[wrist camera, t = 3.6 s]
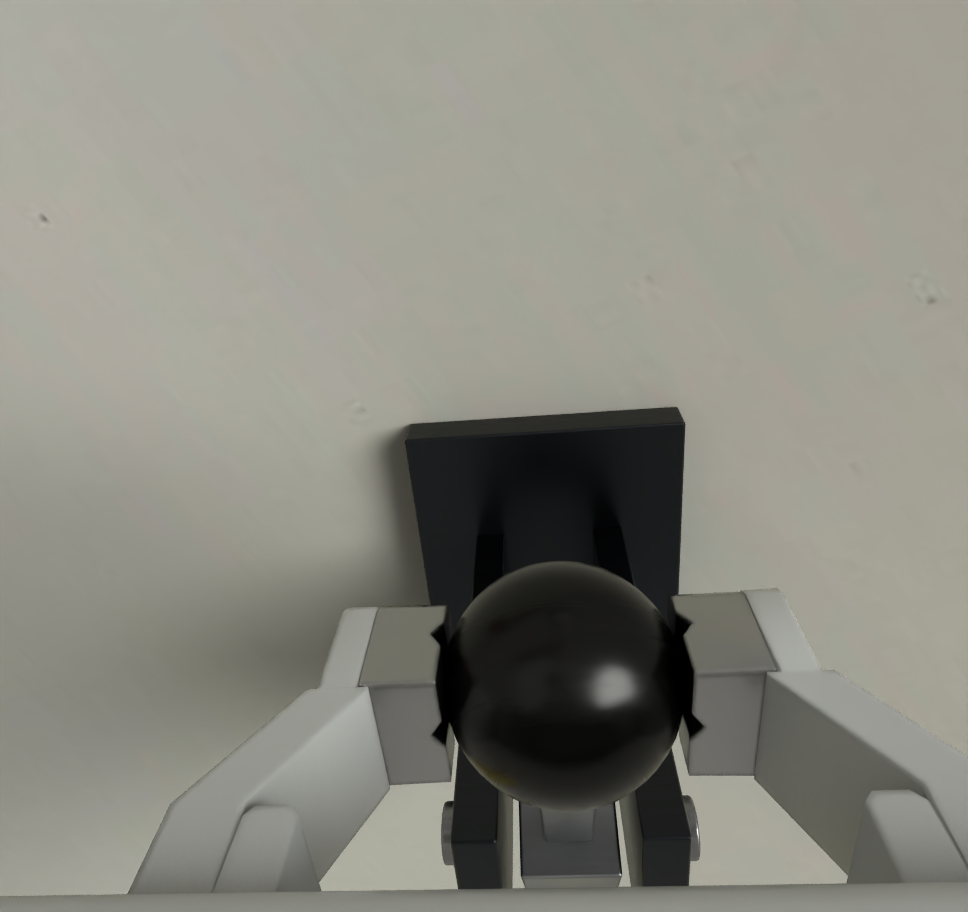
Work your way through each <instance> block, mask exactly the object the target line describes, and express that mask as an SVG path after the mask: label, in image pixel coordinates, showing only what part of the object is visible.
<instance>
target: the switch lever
mask: <svg viewBox="0 0 968 912" xmlns="http://www.w3.org/2000/svg"><path fill="white" fill-rule="evenodd" d="M444 672H445V697H444V699H445V705H446V711H447V715H448V718H449V722H450V725H451V728H452V731H453V733H454V735H455V737H456V740H457V742H458V744H459V746H460V747H461V749H462V750H463V752H464V754H465V755H466V757H467V758H468V760H469V761H470V763H471V764H472V765H473V766H474V767H475V769H476V770H477V771H478V772H479V773H480V774H481V775H482V776H483V777H484V778H485V779H486V780H487V781H489V782H490V783H491V784H492V785H493V786H494V787H495V788H497V789H499V790H500V791H502V792H503V793H505V794H506V795H508V796H509V797H511V798H513V799H515V800H518V801H519V826H520V862H521V877H522V880H523V883H524V885H525V888H579V887H618V886H619V883H620V880H621V877H622V868H621V858H620V848H619V838H618V828H617V818H616V808H615V802H616V801H618V800H620V799H622V798H623V797H625V796H627V795H629V794H631V793H632V792H633V791H635V790H636V789H637V788H639V787H640V786H641V785H642V784H644V783H645V782H646V781H647V780H648V779H649V778H650V777H651V776H652V775H653V774H654V773H655V771H656V770H657V769H658V768H659V767H660V765H661V764H662V762H663V761H664V759H665V758H666V756H667V755H668V753H669V751H670V749H671V747H672V745H673V743H674V741H675V739H676V737H677V733H678V730H679V727H680V724H681V720H682V714H683V709H684V702H685V686H684V679H683V672H682V661H681V657H680V653H679V649H678V646H677V644H676V641H675V638H674V636H673V634H672V632H671V630H670V628H669V626H668V625H667V623H666V621H665V619H664V618H663V616H662V615H661V613H660V612H659V611H658V609H657V608H656V607H655V605H654V604H653V603H652V602H651V601H650V600H649V599H648V598H647V597H646V596H645V595H644V594H643V593H642V592H641V591H640V590H639V589H637V588H636V587H635V586H633V585H632V584H631V583H629V582H628V581H626V580H625V579H624V578H622V577H620V576H618V575H616V574H614V573H612V572H610V571H608V570H606V569H604V568H601V567H598V566H594V565H591V564H587V563H583V562H577V561H567V560H553V561H544V562H538V563H533V564H530V565H526V566H524V567H521V568H518V569H516V570H513V571H511V572H509V573H507V574H505V575H503V576H502V577H500V578H499V579H497V580H496V581H494V582H493V583H491V584H490V585H489V586H488V587H486V588H485V589H484V590H483V591H482V592H481V593H480V594H479V595H478V596H477V597H476V598H475V599H474V600H473V601H472V603H471V604H470V605H469V607H468V608H467V609H466V610H465V612H464V613H463V615H462V617H461V618H460V620H459V622H458V624H457V626H456V628H455V630H454V632H453V635H452V637H451V640H450V642H449V646H448V650H447V654H446V658H445V666H444Z"/></svg>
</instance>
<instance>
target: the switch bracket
mask: <svg viewBox="0 0 968 912" xmlns="http://www.w3.org/2000/svg"><path fill="white" fill-rule="evenodd" d="M684 444H685V422H684V420H683V418H682V416H681V414H680V411H679V409H678V408H677V407H670V408H655V409H639V410H624V411H608V412H592V413H577V414H561V415H546V416H530V417H515V418H499V419H484V420H468V421H453V422H437V423H422V424H411V425H410V427H409V430H408V433H407V437H406V440H405V445H406V451H407V458H408V464H409V470H410V477H411V483H412V490H413V496H414V503H415V509H416V515H417V522H418V528H419V535H420V541H421V548H422V554H423V560H424V567H425V573H426V580H427V586H428V592H429V599H430V605H447V606H448V607H449V610H450V615H451V621H452V635H453V632H454V630H455V628H456V626H457V624H458V622H459V620H460V618H461V617H462V615H463V613H464V612H465V610H466V609H467V608H468V607H469V605H470V604H471V603H472V601H473V600H474V599H475V598H476V597H477V596H478V595H479V594H480V593H481V592H482V591H483V590H484V589H485V588H486V587H488V586H489V585H490V584H491V583H493V582H494V581H496V580H497V579H499V578H500V577H502V576H503V575H505V574H507V573H509V572H511V571H513V570H516V569H518V568H521V567H524V566H526V565H530V564H533V563H538V562H544V561H553V560H567V561H577V562H583V563H587V564H591V565H594V566H598V567H601V568H604V569H606V570H608V571H610V572H612V573H614V574H616V575H618V576H620V577H622V578H624V579H625V580H626V581H628V582H629V583H631V584H632V585H633V586H635V587H636V588H637V589H639V590H640V591H641V592H642V593H643V594H644V595H645V596H646V597H647V598H648V599H649V600H650V601H651V602H652V603H653V604H654V605H655V607H656V608H657V609H658V611H659V612H660V613H661V615H662V616H663V618H664V619H665V621H666V623H667V625H668V622H667V618H666V616H667V601H668V596H669V595H678V593H679V568H680V543H681V518H682V494H683V469H684ZM451 637H452V636H451ZM619 803H620V810H621V817H622V825H623V832H624V839H625V846H626V854H627V861H628V868H629V876H630V883H631V887H646V886H689V873H690V861H697V860H699V857H700V835H699V826H698V820H697V815H696V810H695V806H694V803H693V800H692V798H691V797H690V796H688V795H682V792H681V788H680V783H679V779H678V774H677V770H676V765H675V761H674V756H673V752H672V748H671V749H670V751H669V753H668V755H667V756H666V758H665V759H664V761H663V762H662V764H661V765H660V767H659V768H658V769H657V770H656V771H655V773H654V774H653V775H652V776H651V777H650V778H649V779H648V780H647V781H646V782H645V783H644V784H642V785H641V786H640V787H639V788H637V789H636V790H635V791H633V792H632V793H631V794H629V795H627V796H625V797H623V798H622V799H620V800H619ZM441 844H442V856H443V860H444V863H445V865H454V868H455V873H456V879H457V885H458V889H512V877H513V798H511V797H509V796H508V795H506V794H505V793H503V792H502V791H500V790H499V789H497V788H495V787H494V786H493V785H492V784H491V783H490V782H489V781H487V780H486V779H485V778H484V777H483V776H482V775H481V774H480V773H479V772H478V771H477V770H476V769H475V767H474V766H473V765H472V764H471V763H470V761H469V760H468V758H467V757H466V755H465V754H464V752H463V750H462V749H461V747H460V746H458V757H457V769H456V780H455V792H454V801H447V802H445V804H444V807H443V812H442V824H441Z"/></svg>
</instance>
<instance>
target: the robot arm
mask: <svg viewBox="0 0 968 912" xmlns="http://www.w3.org/2000/svg"><path fill="white" fill-rule="evenodd" d="M666 618H667V622H668V626H669V628H670V630H671V632H672V634H673V636H674V638H675V641H676V644H677V646H678V649H679V653H680V657H681V661H682V672H683V679H684V686H685V702H684V709H683V714H682V720H681V724H680V727H679V737H680V741H681V745H682V749H683V753H684V757H685V761H686V765H687V769H688V773H689V776H754V779H755V780H756V781H757V782H758V783H759V784H760V785H761V786H762V787H763V788H764V789H765V790H766V791H767V792H768V793H769V794H770V795H771V797H772V798H773V799H774V800H775V801H776V802H777V803H778V804H779V805H780V806H781V807H782V808H783V809H784V810H785V811H786V812H787V813H788V814H789V815H790V816H791V817H792V818H793V819H794V820H795V821H796V822H797V823H798V824H799V825H800V827H801V828H802V829H803V830H804V831H805V832H806V833H807V834H808V835H809V836H810V837H811V838H812V839H813V840H814V841H815V842H816V843H817V844H818V845H819V846H820V847H821V848H822V849H823V850H824V851H825V852H826V853H827V854H828V855H829V857H830V858H831V859H832V860H833V861H834V862H835V863H836V864H837V865H838V866H839V867H840V868H841V869H842V870H843V871H844V872H845V873H846V874H847V875H848V879H847V883H846V884H781V885H714V886H646V887H579V888H512V889H445V890H379V891H321V888H320V885H319V882H320V880H321V879H322V878H323V877H324V875H325V874H326V873H327V871H328V870H329V869H330V867H331V866H332V865H333V863H334V862H335V861H336V859H337V858H338V857H339V855H340V854H341V853H342V852H343V850H344V849H345V848H346V846H347V845H348V844H349V842H350V841H351V840H352V838H353V837H354V836H355V834H356V833H357V832H358V830H359V829H360V828H361V827H362V825H363V824H364V823H365V821H366V820H367V819H368V817H369V816H370V815H371V813H372V812H373V811H374V809H375V808H376V807H377V805H378V804H379V803H380V802H381V800H382V799H383V798H384V796H385V795H386V794H387V792H388V791H389V790H390V786H389V785H401V784H419V783H437V782H451V776H452V766H453V756H454V746H455V739H454V733H453V731H452V728H451V725H450V722H449V718H448V715H447V711H446V705H445V699H444V697H445V672H444V666H445V658H446V654H447V650H448V646H449V642H450V640H451V636H452V621H451V615H450V610H449V607H448V606H447V605H423V606H381V607H359V608H347V609H346V610H345V611H344V612H343V613H342V614H341V617H340V620H339V623H338V626H337V629H336V632H335V635H334V638H333V642H332V645H331V648H330V651H329V654H328V657H327V660H326V663H325V666H324V669H323V672H322V675H321V678H320V682H319V685H318V688H317V689H307V690H306V691H304V692H303V693H302V694H301V695H300V696H298V697H297V698H296V699H295V700H294V701H292V702H291V703H290V704H289V705H288V706H287V707H285V708H284V709H283V710H282V711H281V712H279V713H278V714H277V715H276V716H275V717H273V718H272V719H271V720H270V721H269V722H268V723H266V724H265V725H264V726H263V727H262V728H260V729H259V730H258V731H257V732H256V733H254V734H253V735H252V736H251V737H250V738H248V739H247V740H246V741H245V742H244V743H243V744H241V745H240V746H239V747H238V748H237V749H235V750H234V751H233V752H232V753H231V754H229V755H228V756H227V757H226V758H225V759H223V760H222V761H221V762H220V763H219V764H218V765H216V766H215V767H214V768H213V769H212V770H210V771H209V772H208V773H207V774H206V775H204V776H203V777H202V778H201V779H200V780H199V781H197V782H196V783H195V784H194V785H193V786H191V787H190V788H189V789H188V790H187V791H185V792H184V793H183V794H182V795H181V796H179V797H178V798H177V799H176V800H175V801H174V802H172V803H171V804H170V805H169V808H168V810H167V812H166V814H165V816H164V818H163V820H162V822H161V824H160V827H159V829H158V831H157V833H156V835H155V837H154V839H153V841H152V843H151V845H150V848H149V850H148V852H147V854H146V856H145V858H144V860H143V862H142V864H141V866H140V869H139V871H138V873H137V875H136V877H135V879H134V881H133V883H132V885H131V887H130V890H129V892H128V894H113V895H47V896H0V912H968V756H966V755H965V754H963V753H961V752H960V751H958V750H957V749H955V748H954V747H952V746H951V745H949V744H948V743H946V742H944V741H943V740H941V739H940V738H938V737H937V736H935V735H934V734H932V733H931V732H929V731H927V730H926V729H924V728H923V727H921V726H920V725H918V724H917V723H915V722H914V721H912V720H910V719H909V718H907V717H906V716H904V715H903V714H901V713H900V712H898V711H897V710H895V709H893V708H892V707H890V706H889V705H887V704H886V703H884V702H883V701H881V700H880V699H878V698H876V697H875V696H873V695H872V694H870V693H869V692H867V691H866V690H864V689H863V688H861V687H859V686H858V685H856V684H855V683H853V682H852V681H850V680H849V679H847V678H845V677H844V676H842V675H841V674H839V673H838V672H836V671H835V670H822V668H821V667H820V665H819V663H818V661H817V659H816V657H815V655H814V653H813V651H812V649H811V647H810V645H809V643H808V641H807V639H806V637H805V635H804V633H803V631H802V629H801V627H800V626H799V624H798V622H797V620H796V618H795V616H794V614H793V612H792V610H791V608H790V606H789V604H788V602H787V600H786V598H785V596H784V594H783V592H781V591H780V590H779V589H777V588H772V589H757V590H743V591H740V592H723V593H704V594H684V595H669V596H668V601H667V616H666Z"/></svg>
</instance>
